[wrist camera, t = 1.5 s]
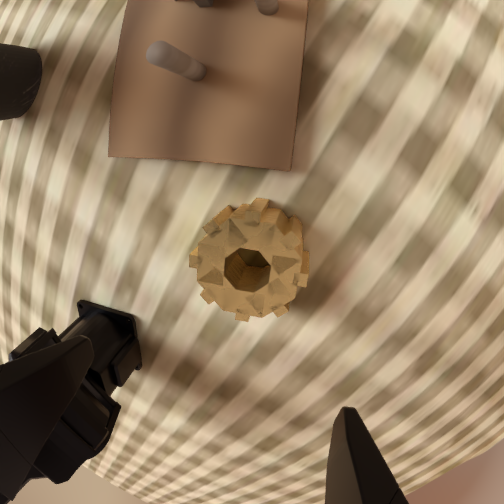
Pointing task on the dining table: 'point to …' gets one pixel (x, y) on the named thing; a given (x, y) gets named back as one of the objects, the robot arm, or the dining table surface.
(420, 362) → the dining table surface
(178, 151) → the gear board
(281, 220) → the brass gear
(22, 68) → the travel mug
